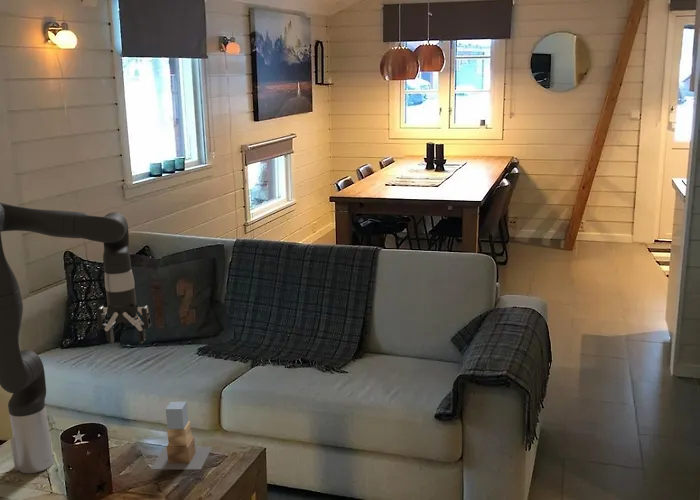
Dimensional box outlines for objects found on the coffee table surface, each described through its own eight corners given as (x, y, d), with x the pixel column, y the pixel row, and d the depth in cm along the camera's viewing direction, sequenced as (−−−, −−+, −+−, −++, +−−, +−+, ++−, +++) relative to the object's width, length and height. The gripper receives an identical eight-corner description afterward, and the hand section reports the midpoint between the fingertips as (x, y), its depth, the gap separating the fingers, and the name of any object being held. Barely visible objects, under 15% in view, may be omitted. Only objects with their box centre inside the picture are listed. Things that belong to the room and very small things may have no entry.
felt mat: (150, 471, 203) (150, 469, 203) (164, 448, 215) (164, 446, 215) (201, 471, 202) (200, 469, 202) (212, 448, 214) (212, 446, 213)
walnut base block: (168, 463, 206) (166, 447, 204) (174, 452, 211) (173, 436, 210) (189, 463, 205) (188, 447, 204) (195, 452, 211) (194, 436, 210)
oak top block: (168, 446, 205) (167, 429, 204) (174, 437, 210) (172, 420, 208) (186, 446, 204) (185, 429, 203) (191, 437, 209) (190, 420, 208)
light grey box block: (167, 429, 204) (165, 409, 202) (172, 421, 208) (170, 401, 206) (183, 429, 203) (181, 409, 202) (188, 421, 208) (186, 401, 206)
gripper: (88, 291, 199) (96, 347, 203) (140, 290, 198) (147, 347, 202) (100, 282, 206) (107, 337, 210) (150, 282, 205) (156, 337, 209)
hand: (126, 342), depth 206 cm, fingers open, 8 cm apart
